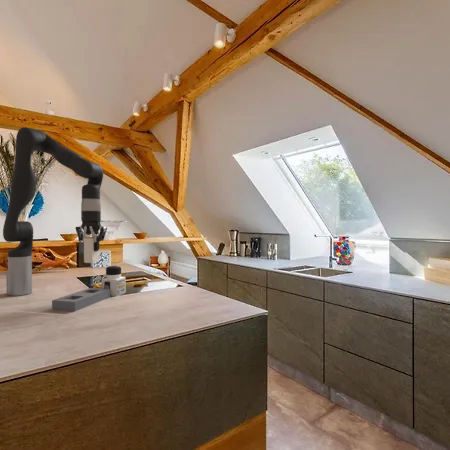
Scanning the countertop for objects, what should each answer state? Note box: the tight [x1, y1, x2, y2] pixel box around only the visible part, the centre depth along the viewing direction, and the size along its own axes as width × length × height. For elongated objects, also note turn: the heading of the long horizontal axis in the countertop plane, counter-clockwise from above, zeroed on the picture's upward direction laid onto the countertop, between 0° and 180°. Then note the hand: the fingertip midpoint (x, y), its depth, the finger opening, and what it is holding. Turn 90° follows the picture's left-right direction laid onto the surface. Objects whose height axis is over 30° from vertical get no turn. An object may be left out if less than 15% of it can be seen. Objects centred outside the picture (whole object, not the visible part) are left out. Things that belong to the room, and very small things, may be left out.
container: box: [100, 265, 127, 297], centre depth 145 cm, size 8×8×13 cm
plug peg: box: [83, 236, 99, 264], centre depth 134 cm, size 4×4×11 cm
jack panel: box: [51, 287, 111, 312], centre depth 129 cm, size 10×22×4 cm, turn 167°
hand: (91, 250), depth 134 cm, fingers closed on plug peg, 4 cm apart
